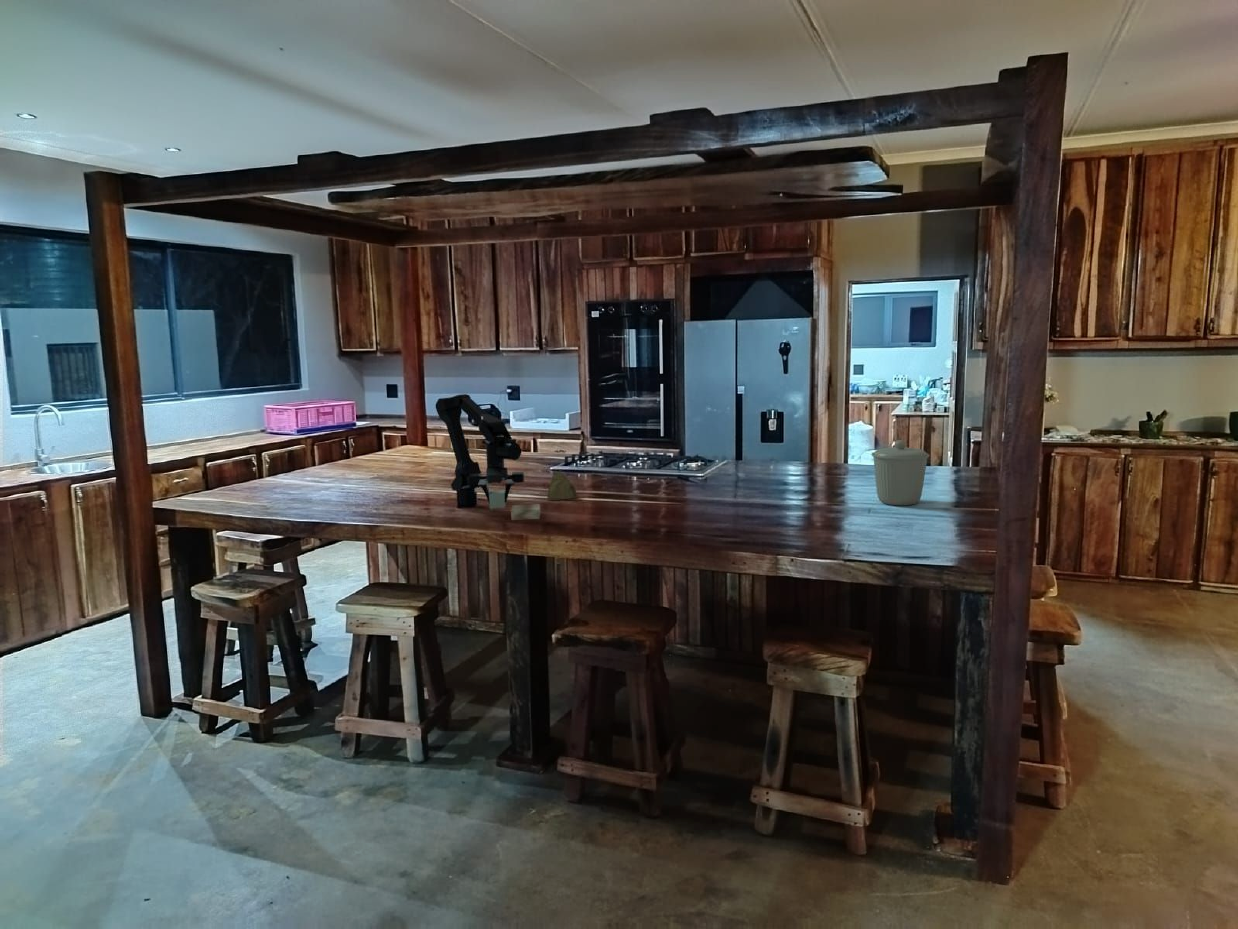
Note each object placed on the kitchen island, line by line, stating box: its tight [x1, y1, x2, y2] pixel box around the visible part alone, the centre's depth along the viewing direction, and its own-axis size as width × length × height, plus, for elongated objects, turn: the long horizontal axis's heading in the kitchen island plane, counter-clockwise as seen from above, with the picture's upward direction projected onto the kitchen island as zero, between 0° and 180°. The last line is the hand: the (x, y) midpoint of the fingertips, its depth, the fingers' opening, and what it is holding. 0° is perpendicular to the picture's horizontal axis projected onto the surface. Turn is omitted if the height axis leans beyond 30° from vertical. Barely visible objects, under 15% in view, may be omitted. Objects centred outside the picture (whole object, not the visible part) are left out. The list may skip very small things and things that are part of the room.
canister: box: [870, 439, 930, 507], centre depth 268 cm, size 18×18×21 cm
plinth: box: [510, 503, 541, 521], centre depth 266 cm, size 9×9×3 cm
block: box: [488, 490, 507, 510], centre depth 274 cm, size 5×5×5 cm
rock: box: [546, 471, 579, 501], centre depth 293 cm, size 11×9×10 cm
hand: (497, 503), depth 274 cm, fingers closed on block, 5 cm apart
